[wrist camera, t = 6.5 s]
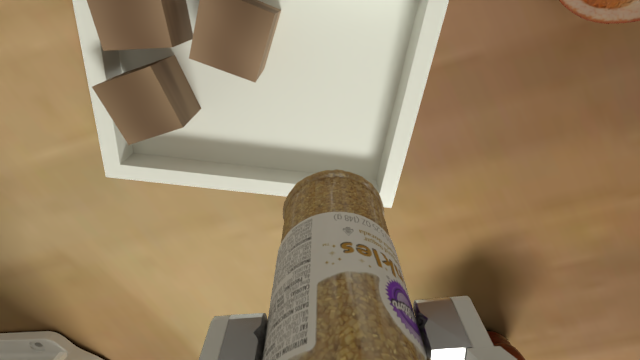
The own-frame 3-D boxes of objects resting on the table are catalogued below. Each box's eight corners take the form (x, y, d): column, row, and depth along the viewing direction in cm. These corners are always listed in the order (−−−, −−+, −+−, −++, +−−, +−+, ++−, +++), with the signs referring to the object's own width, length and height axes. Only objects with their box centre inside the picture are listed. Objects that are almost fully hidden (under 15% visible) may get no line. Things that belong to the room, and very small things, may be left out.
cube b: (207, 48, 24) (188, 58, 20) (220, -15, 22) (202, -16, 18) (264, 69, 24) (255, 82, 21) (281, 9, 23) (274, 14, 19)
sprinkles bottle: (402, 202, 16) (680, 856, 4) (338, 264, 17) (389, 854, 5) (323, 144, 14) (368, 885, 2) (261, 217, 16) (105, 869, 4)
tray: (124, 160, 29) (106, 176, 26) (87, -77, 21) (56, -86, 18) (385, 189, 30) (391, 207, 28) (439, -22, 22) (455, -23, 20)
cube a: (135, 41, 23) (103, 50, 20) (115, -28, 22) (76, -31, 18) (193, 38, 23) (172, 47, 20) (179, -31, 21) (152, -35, 18)
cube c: (153, 124, 26) (128, 145, 23) (124, 72, 24) (91, 86, 21) (201, 108, 26) (183, 127, 22) (174, 54, 24) (150, 66, 20)
